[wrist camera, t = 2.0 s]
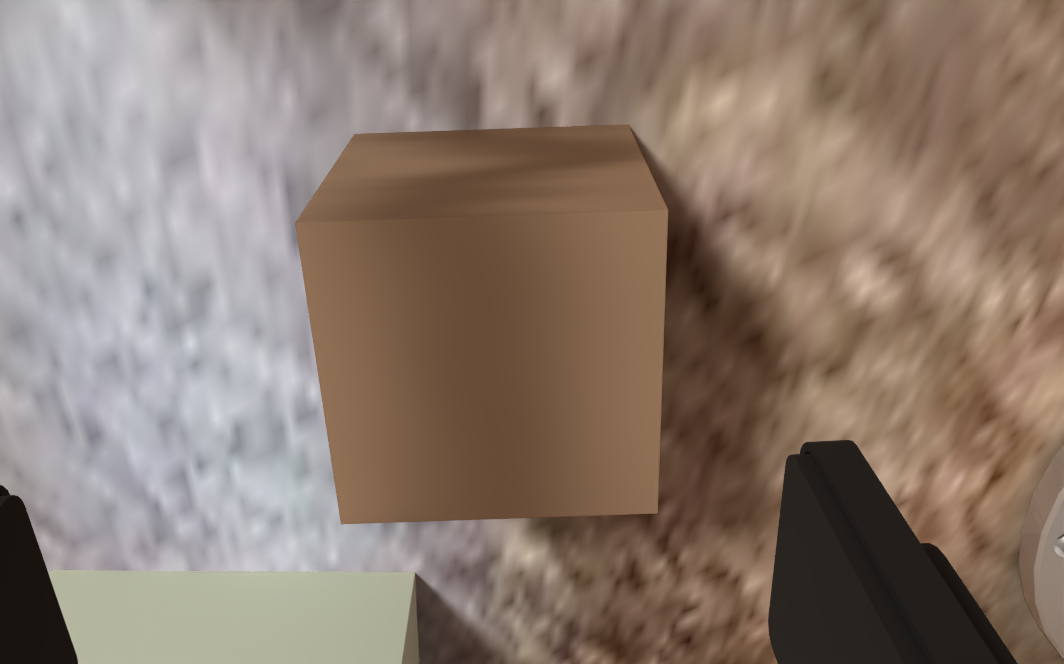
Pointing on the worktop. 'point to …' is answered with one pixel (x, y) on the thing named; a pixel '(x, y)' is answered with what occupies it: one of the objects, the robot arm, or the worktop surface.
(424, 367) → the walnut block
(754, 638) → the worktop surface
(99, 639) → the sage block
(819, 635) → the robot arm
